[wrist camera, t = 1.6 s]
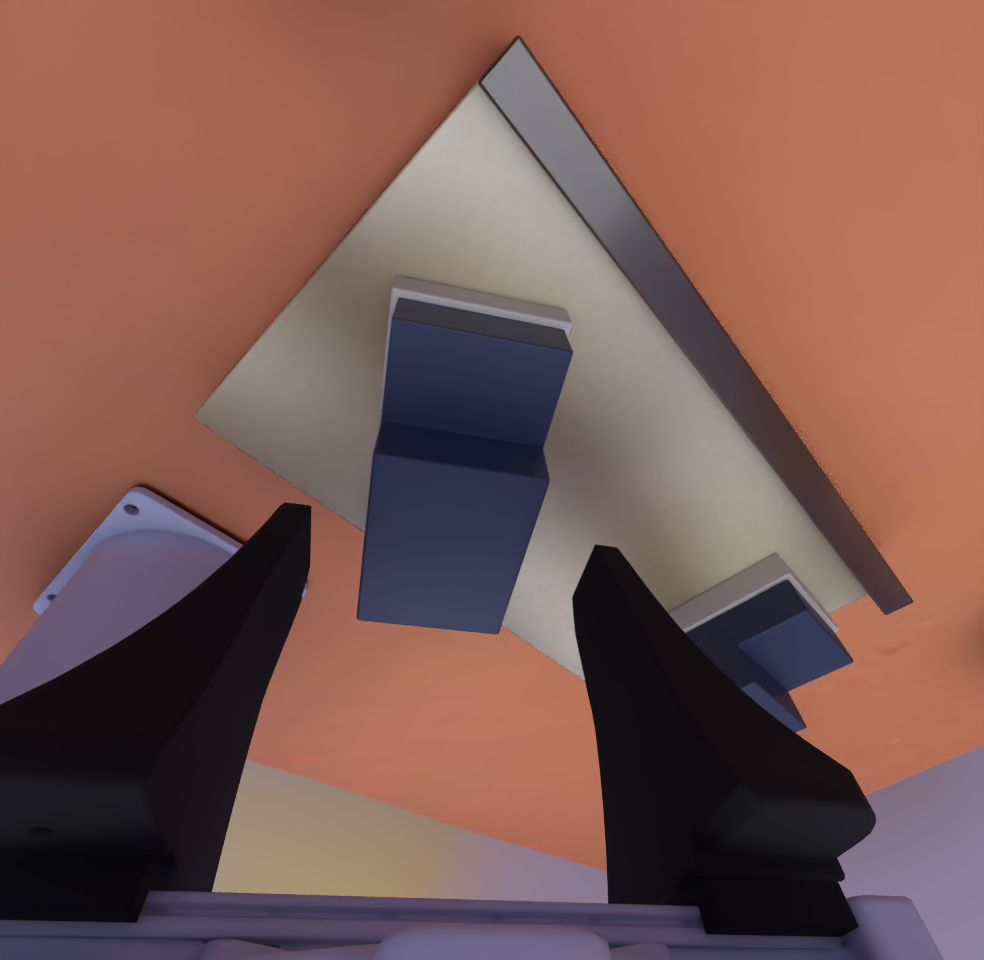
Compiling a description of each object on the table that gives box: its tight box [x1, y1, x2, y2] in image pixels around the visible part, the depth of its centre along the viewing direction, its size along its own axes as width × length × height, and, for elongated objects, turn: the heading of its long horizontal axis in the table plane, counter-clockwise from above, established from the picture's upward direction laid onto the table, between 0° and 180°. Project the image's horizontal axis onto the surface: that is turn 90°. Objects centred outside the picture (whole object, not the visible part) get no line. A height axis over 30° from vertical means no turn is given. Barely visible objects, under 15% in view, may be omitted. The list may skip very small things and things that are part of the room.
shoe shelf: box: [193, 36, 913, 681], centre depth 21 cm, size 14×25×3 cm, turn 43°
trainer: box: [357, 276, 573, 634], centre depth 17 cm, size 10×5×4 cm, turn 168°
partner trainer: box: [668, 553, 853, 732], centre depth 23 cm, size 10×5×4 cm, turn 133°
